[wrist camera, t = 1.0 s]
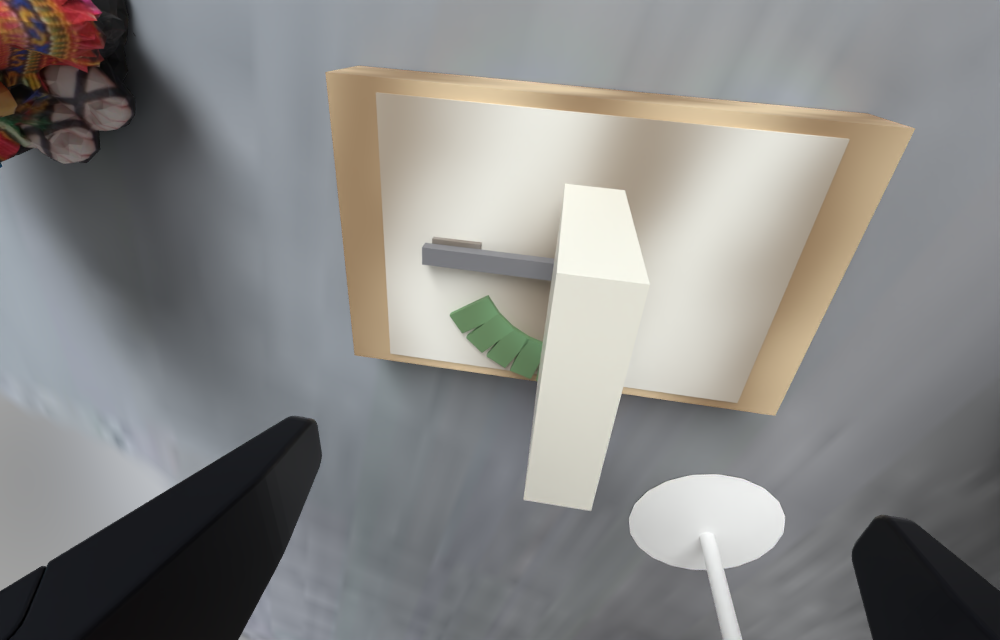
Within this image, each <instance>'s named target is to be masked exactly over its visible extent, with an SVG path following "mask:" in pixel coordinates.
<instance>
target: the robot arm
mask: <svg viewBox="0 0 1000 640" xmlns="http://www.w3.org/2000/svg"><path fill="white" fill-rule="evenodd" d="M321 458H322V451H321V445H320V438H319V431H318V425H317V423H316V421H315V420H314V419H311V418H305V417H299V416H290V417H288V418H286V419H284V420H282V421H281V422H279V423H277V424H276V425H274V426H272V427H271V428H269V429H267V430H266V431H264V432H262V433H261V434H259V435H258V436H256V437H254V438H253V439H251V440H249V441H248V442H246V443H244V444H243V445H241V446H239V447H238V448H236V449H234V450H233V451H231V452H229V453H228V454H226V455H224V456H223V457H221V458H220V459H218V460H216V461H215V462H213V463H211V464H210V465H208V466H206V467H205V468H203V469H201V470H200V471H198V472H196V473H195V474H193V475H191V476H190V477H188V478H187V479H185V480H183V481H182V482H180V483H178V484H177V485H175V486H173V487H172V488H170V489H168V490H167V491H165V492H164V493H162V494H160V495H159V496H157V497H155V498H154V499H152V500H150V501H149V502H147V503H145V504H144V505H142V506H140V507H139V508H137V509H135V510H134V511H132V512H130V513H129V514H127V515H126V516H124V517H122V518H120V519H119V520H117V521H116V522H114V523H112V524H111V525H109V526H107V527H106V528H104V529H102V530H101V531H99V532H97V533H96V534H94V535H92V536H91V537H89V538H88V539H86V540H84V541H83V542H81V543H79V544H78V545H76V546H74V547H73V548H71V549H70V550H68V551H66V552H65V553H63V554H61V555H60V556H58V557H56V558H54V559H53V560H51V561H50V562H49V563H48V565H47V567H46V566H41V567H39V568H38V569H36V570H34V571H33V572H31V573H30V574H28V575H26V576H24V577H23V578H21V579H20V580H18V581H16V582H14V583H13V584H12V585H9V586H8V587H6V588H4V589H3V590H1V591H0V640H238V639H239V637H240V635H241V634H242V632H243V630H244V628H245V626H246V624H247V622H248V620H249V619H250V617H251V615H252V613H253V611H254V609H255V607H256V605H257V604H258V602H259V600H260V598H261V596H262V594H263V592H264V590H265V589H266V587H267V585H268V583H269V581H270V579H271V577H272V575H273V574H274V572H275V570H276V568H277V566H278V564H279V562H280V560H281V558H282V556H283V554H284V552H285V550H286V547H287V545H288V543H289V541H290V538H291V536H292V533H293V531H294V528H295V526H296V523H297V521H298V519H299V516H300V514H301V511H302V509H303V506H304V504H305V501H306V499H307V496H308V494H309V492H310V489H311V487H312V484H313V482H314V479H315V477H316V474H317V472H318V469H319V467H320V463H321ZM852 562H853V566H854V570H855V574H856V578H857V582H858V585H859V589H860V593H861V597H862V601H863V605H864V608H865V612H866V616H867V620H868V624H869V627H870V631H871V635H872V639H873V640H1000V591H999V590H998V589H996V588H995V587H994V586H993V585H991V584H990V583H989V582H988V581H986V580H985V579H984V578H983V577H981V576H980V575H979V574H978V573H977V572H975V571H974V570H973V569H972V568H970V567H969V566H968V565H967V564H965V563H964V562H963V561H962V560H960V559H959V558H958V557H957V556H956V555H954V554H953V553H952V552H951V551H949V550H948V549H947V548H946V547H944V546H943V545H942V544H941V543H939V542H938V541H937V540H936V539H935V538H933V537H932V536H931V535H930V534H928V533H927V532H926V531H925V530H923V529H922V528H921V527H920V526H918V525H917V524H916V523H914V522H913V521H911V520H908V519H905V518H900V517H894V516H888V515H880V516H877V517H875V518H874V519H873V520H872V522H871V523H870V524H869V526H868V527H867V528H866V530H865V531H864V532H863V534H862V535H861V536H860V538H859V539H858V540H857V541H856V543H855V544H854V546H853V549H852Z"/></svg>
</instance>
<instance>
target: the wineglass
mask: <svg viewBox="0 0 1000 640" xmlns="http://www.w3.org/2000/svg"><path fill="white" fill-rule="evenodd" d="M784 524H785V515H784V513H783V510H782V508H781V506H780V503H779V501H778V500H776V499H775V498H774V497H773V496H772V495H771V494H770V493H769V492H768V491H767V490H766V489H764V488H762V487H760V486H758V485H756V484H753V483H751V482H749V481H747V480H745V479H741V478H736V477H730V476H725V475H720V474H707V475H689V476H685V477H681V478H677V479H673V480H669V481H666V482H664V483H662V484H660V485H659V486H657V487H655V488H653V489H651V490H649V491H647V492H646V493H645V494H644V495H643V496H642V497H641V498H640V499H639V500H638V501H637V502H636V503H635V504H634V507H633V509H632V512H631V514H630V517H629V527H630V534H631V536H632V537H633V539H634V540H635V542H636V543H637V545H638V547H639V548H641V549H642V550H643V551H645V552H646V553H647V554H648V555H650V556H651V557H652V558H654V559H657V560H659V561H661V562H664V563H666V564H669V565H671V566H676V567H681V568H686V569H691V570H707V573H708V578H709V582H710V586H711V591H712V595H713V599H714V604H715V608H716V612H717V617H718V621H719V625H720V630H721V634H722V638H723V640H742V636H741V633H740V629H739V625H738V621H737V617H736V614H735V610H734V606H733V602H732V598H731V595H730V591H729V587H728V583H727V579H726V576H725V572H724V569H725V568H731V567H737V566H740V565H742V564H745V563H748V562H750V561H753V560H755V559H758V558H759V557H761V556H762V555H763V554H765V553H766V552H768V551H769V550H770V549H772V548H773V547H774V546H775V544H776V543H777V541H778V540H779V539H780V537H781V536H782V534H783V532H784Z"/></svg>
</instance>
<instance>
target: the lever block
mask: <svg viewBox="0 0 1000 640" xmlns="http://www.w3.org/2000/svg"><path fill="white" fill-rule="evenodd" d="M326 82H327V91H328V101H329V111H330V120H331V130H332V140H333V149H334V159H335V169H336V179H337V188H338V198H339V208H340V217H341V227H342V237H343V246H344V256H345V266H346V275H347V285H348V295H349V304H350V314H351V324H352V333H353V343H354V353H355V355H357V356H364V357H371V358H378V359H385V360H392V361H399V362H406V363H413V364H420V365H427V366H434V367H441V368H448V369H455V370H461V371H468V372H475V373H482V374H489V375H496V376H503V377H510V378H517V379H524V380H531V381H538V374H539V366H540V358H541V351H542V344H543V337H544V330H545V323H546V316H547V309H548V301H549V294H550V287H551V281H548V280H540V279H532V278H524V277H516V276H509V275H501V274H493V273H485V272H477V271H469V270H461V269H453V268H446V267H438V266H430V265H422V247H423V245H424V244H425V243H432V244H440V245H448V246H457V247H465V248H473V249H481V250H489V251H497V252H505V253H514V254H522V255H530V256H538V257H546V258H554V259H555V252H556V245H557V238H558V231H559V224H560V216H561V209H562V202H563V195H564V188H565V184H573V185H582V186H591V187H600V188H609V189H618V190H625V193H626V196H627V200H628V204H629V208H630V212H631V215H632V219H633V223H634V227H635V230H636V234H637V238H638V242H639V245H640V249H641V253H642V257H643V260H644V264H645V268H646V272H647V275H648V279H649V283H650V286H649V290H648V294H647V298H646V302H645V305H644V309H643V313H642V317H641V321H640V325H639V329H638V332H637V336H636V340H635V344H634V348H633V352H632V355H631V359H630V363H629V367H628V371H627V375H626V378H625V382H624V386H623V390H622V394H628V395H635V396H642V397H649V398H656V399H663V400H670V401H677V402H684V403H691V404H698V405H705V406H712V407H719V408H726V409H733V410H740V411H747V412H753V413H760V414H767V415H774V416H775V415H776V413H777V411H778V409H779V407H780V405H781V403H782V401H783V399H784V397H785V394H786V392H787V390H788V388H789V386H790V384H791V382H792V380H793V378H794V376H795V374H796V372H797V370H798V368H799V366H800V364H801V362H802V360H803V358H804V356H805V353H806V351H807V349H808V347H809V345H810V343H811V341H812V339H813V337H814V335H815V333H816V331H817V329H818V327H819V325H820V323H821V321H822V319H823V317H824V315H825V312H826V310H827V308H828V306H829V304H830V302H831V300H832V298H833V296H834V294H835V292H836V290H837V288H838V286H839V284H840V282H841V280H842V278H843V276H844V273H845V271H846V269H847V267H848V265H849V263H850V261H851V259H852V257H853V255H854V253H855V251H856V249H857V247H858V245H859V243H860V241H861V239H862V237H863V235H864V232H865V230H866V228H867V226H868V224H869V222H870V220H871V218H872V216H873V214H874V212H875V210H876V208H877V206H878V204H879V202H880V200H881V198H882V196H883V193H884V191H885V189H886V187H887V185H888V183H889V181H890V179H891V177H892V175H893V173H894V171H895V169H896V167H897V165H898V163H899V161H900V159H901V157H902V155H903V152H904V150H905V148H906V146H907V144H908V142H909V140H910V138H911V136H912V134H913V132H914V130H915V128H912V127H909V126H905V125H902V124H899V123H896V122H893V121H889V120H886V119H883V118H880V117H877V116H874V115H870V114H867V113H856V112H845V111H835V110H824V109H813V108H803V107H792V106H781V105H771V104H760V103H750V102H739V101H728V100H718V99H707V98H696V97H686V96H675V95H665V94H654V93H643V92H633V91H622V90H611V89H601V88H590V87H580V86H569V85H558V84H548V83H537V82H526V81H516V80H505V79H494V78H484V77H473V76H463V75H452V74H441V73H431V72H420V71H409V70H399V69H388V68H378V67H367V66H355V67H350V68H344V69H339V70H334V71H329V72H326Z"/></svg>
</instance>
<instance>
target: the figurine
mask: <svg viewBox="0 0 1000 640" xmlns="http://www.w3.org/2000/svg"><path fill="white" fill-rule="evenodd" d="M128 21H129V15H128V13H127V9H126V2H125V0H0V168H1V167H2V164H1V162H2V161H5V160H7V159H9V158H12V157H14V156H15V155H20V154H22V153H24V152H26V151H28V150H31V149H33V148H38V149H39V150H40V151H41V152H42V153H44V154H45V155H47V156H48V157H50V158H52V159H53V160H55V161H58V162H60V163H63V164H68V163H74V162H82V163H87V162H88V161H89V160H90V159H91V158H92V157H93V156H94V155H95V154H96V153H97V152H98V151H99V150H100V137H99V130H100V131H109V130H115V129H118V128H120V127H123V126H126V125H128V124H129V123H130V121H131V120H132V118H133V116H134V115H135V97H134V96H133V95H132V93H131V92H130V91H129V90H128V89H127V87H126V86H125V85H124V84H123V80H124V78H125V76H126V74H127V72H128V68H127V63H126V58H125V50H124V46H125V44H126V39H127V31H128ZM134 35H135V34H134Z"/></svg>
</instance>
